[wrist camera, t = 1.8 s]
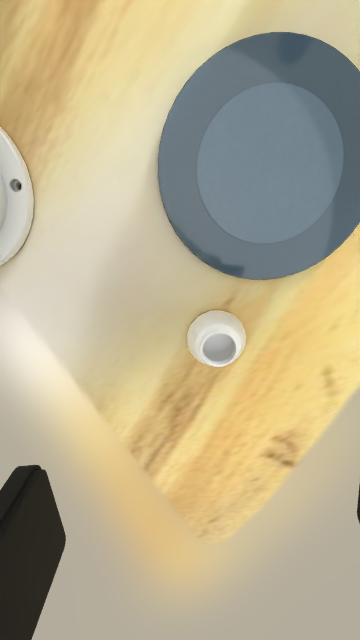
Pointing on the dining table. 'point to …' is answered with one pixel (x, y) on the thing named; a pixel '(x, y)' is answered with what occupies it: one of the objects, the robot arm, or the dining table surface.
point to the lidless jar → (216, 338)
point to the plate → (264, 156)
